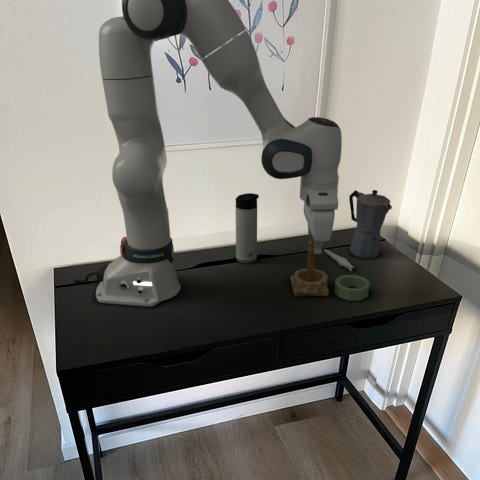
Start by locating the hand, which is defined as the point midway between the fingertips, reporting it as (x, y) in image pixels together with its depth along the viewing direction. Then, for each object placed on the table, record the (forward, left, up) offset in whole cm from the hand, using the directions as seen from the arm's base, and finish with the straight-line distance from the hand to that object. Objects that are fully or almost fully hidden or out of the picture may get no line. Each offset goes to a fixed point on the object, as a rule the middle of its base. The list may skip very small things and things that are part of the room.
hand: (314, 244), depth 129 cm
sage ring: (+11, +1, -14) cm, 18 cm away
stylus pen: (+11, +20, -15) cm, 27 cm away
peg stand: (0, +4, -14) cm, 15 cm away
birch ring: (0, +2, -13) cm, 13 cm away
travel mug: (-16, +23, -15) cm, 32 cm away
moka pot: (+20, +26, -15) cm, 36 cm away
